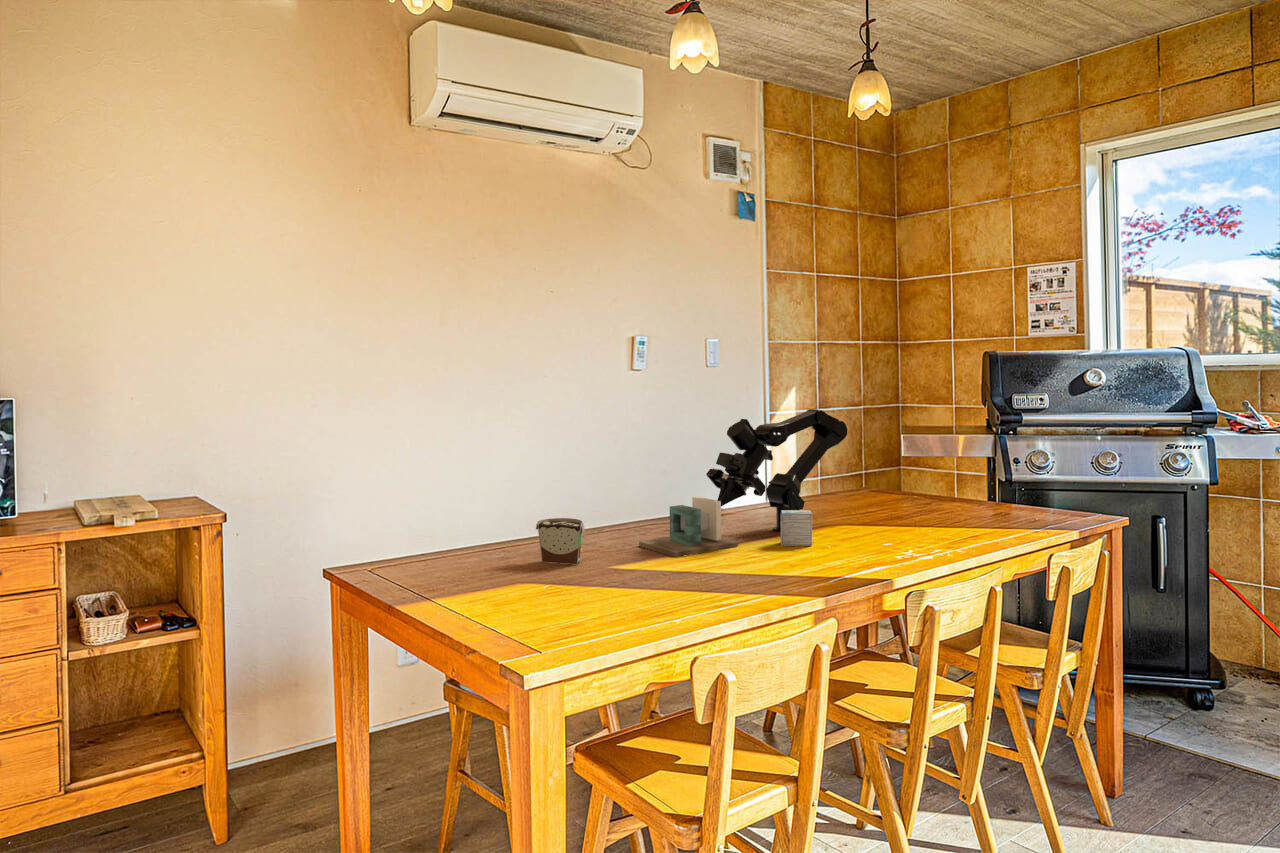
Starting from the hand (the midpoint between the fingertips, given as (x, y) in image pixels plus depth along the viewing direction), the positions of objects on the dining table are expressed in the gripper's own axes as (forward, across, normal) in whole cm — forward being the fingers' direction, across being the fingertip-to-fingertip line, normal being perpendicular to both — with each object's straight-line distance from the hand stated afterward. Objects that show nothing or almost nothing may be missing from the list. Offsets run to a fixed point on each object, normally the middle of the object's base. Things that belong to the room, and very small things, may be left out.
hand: (718, 505), depth 226 cm
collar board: (+13, 0, +1) cm, 13 cm away
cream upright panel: (+11, 0, +1) cm, 11 cm away
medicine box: (-3, +15, +17) cm, 23 cm away
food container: (+38, -5, -23) cm, 45 cm away
